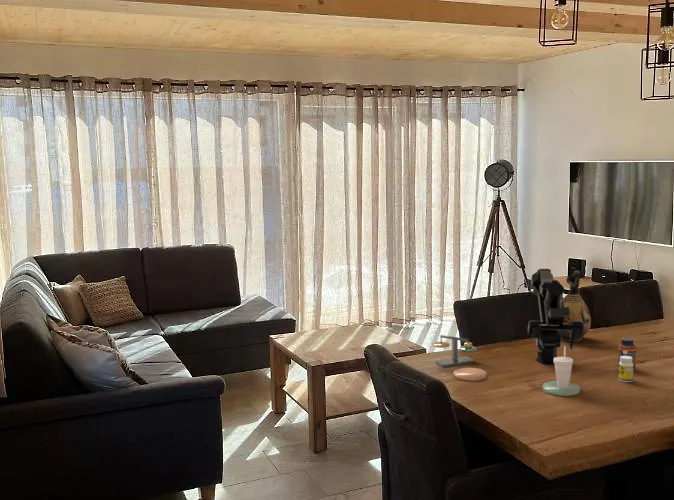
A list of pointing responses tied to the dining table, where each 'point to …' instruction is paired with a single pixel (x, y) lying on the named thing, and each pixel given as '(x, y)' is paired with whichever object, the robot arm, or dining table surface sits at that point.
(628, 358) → the supplement bottle
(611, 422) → the dining table surface
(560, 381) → the smoothie
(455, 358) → the balance
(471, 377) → the terracotta dish
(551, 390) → the green dish
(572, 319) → the ceramic jug
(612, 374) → the dining table surface
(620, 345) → the supplement bottle
